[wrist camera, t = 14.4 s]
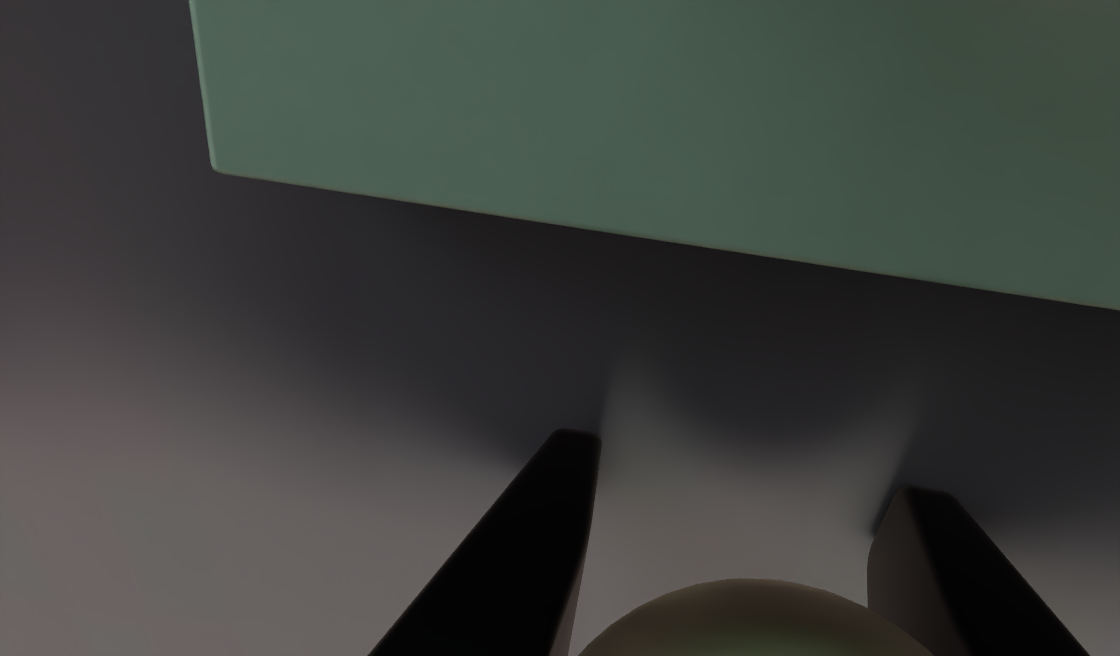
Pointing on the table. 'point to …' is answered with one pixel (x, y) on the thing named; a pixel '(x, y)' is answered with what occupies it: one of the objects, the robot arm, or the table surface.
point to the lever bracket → (704, 123)
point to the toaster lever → (753, 624)
